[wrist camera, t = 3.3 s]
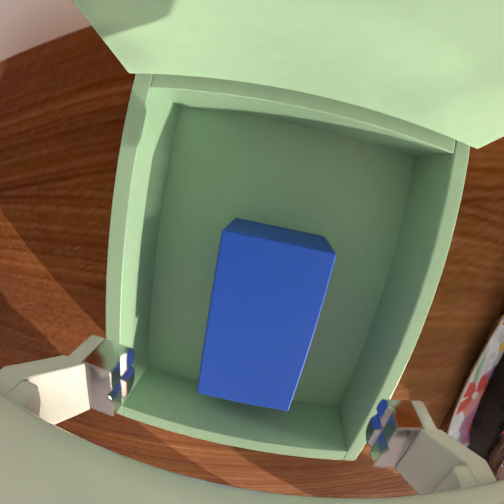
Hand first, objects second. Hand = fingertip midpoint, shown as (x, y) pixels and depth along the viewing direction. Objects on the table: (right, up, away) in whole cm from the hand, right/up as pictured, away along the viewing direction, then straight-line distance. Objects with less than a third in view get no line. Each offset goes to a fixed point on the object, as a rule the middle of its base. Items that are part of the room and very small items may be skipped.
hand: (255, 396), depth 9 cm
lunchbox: (+1, +3, +8) cm, 8 cm away
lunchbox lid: (+2, +10, -8) cm, 13 cm away
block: (+1, +2, +7) cm, 8 cm away
